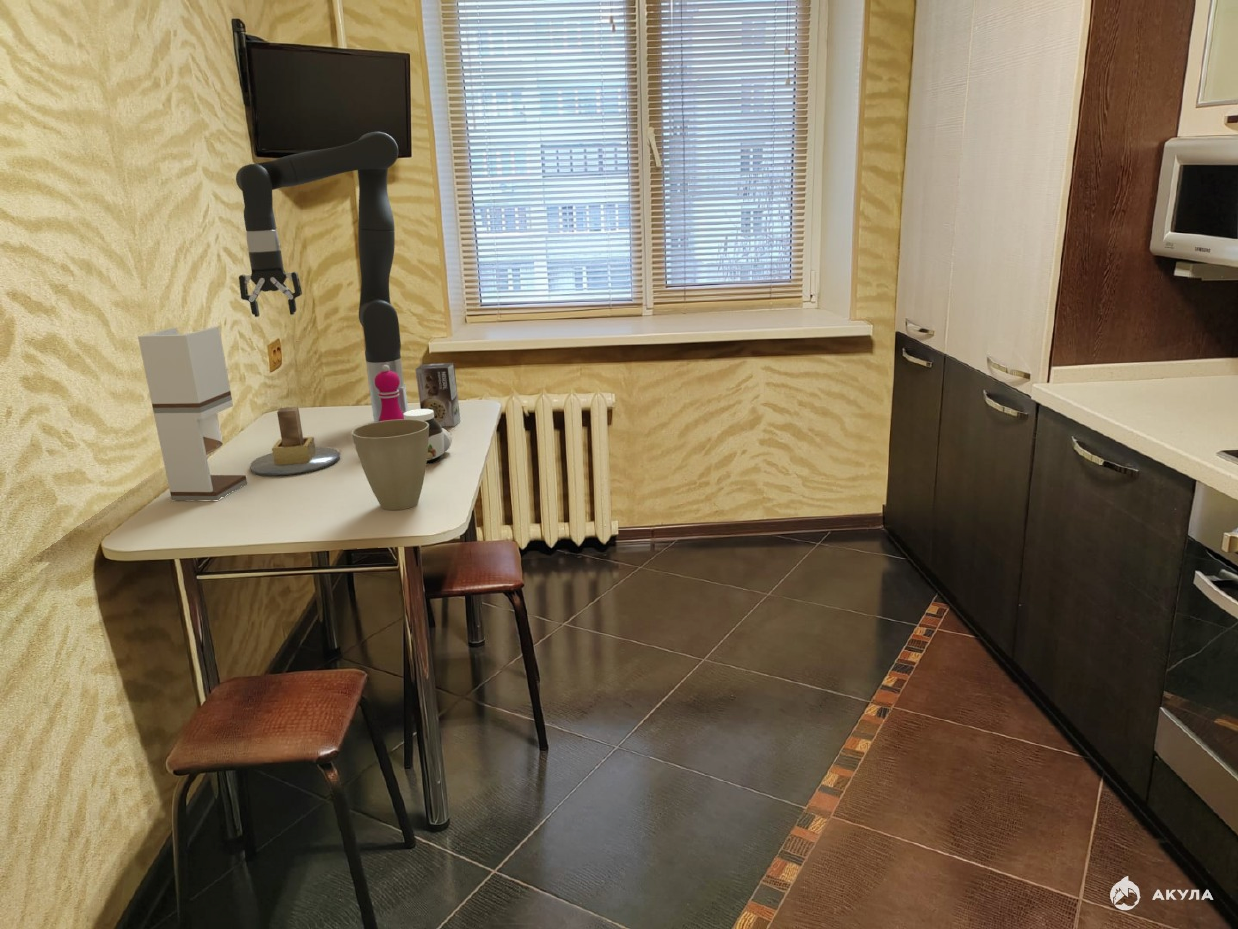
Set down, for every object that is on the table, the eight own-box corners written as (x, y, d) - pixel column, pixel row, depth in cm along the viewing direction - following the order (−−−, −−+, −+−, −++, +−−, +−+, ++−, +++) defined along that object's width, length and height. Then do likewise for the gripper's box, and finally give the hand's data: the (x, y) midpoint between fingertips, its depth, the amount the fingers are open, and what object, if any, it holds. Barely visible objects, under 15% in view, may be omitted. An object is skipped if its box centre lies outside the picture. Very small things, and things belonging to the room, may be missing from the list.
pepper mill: (374, 446, 226) (363, 367, 220) (391, 438, 232) (381, 361, 227) (398, 448, 223) (388, 368, 217) (415, 440, 230) (406, 362, 224)
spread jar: (402, 467, 207) (396, 418, 204) (402, 454, 218) (396, 407, 215) (455, 461, 210) (450, 413, 206) (452, 449, 220) (447, 402, 217)
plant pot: (448, 505, 181) (440, 428, 176) (375, 522, 173) (364, 442, 169) (422, 487, 193) (413, 414, 188) (352, 502, 186) (342, 427, 181)
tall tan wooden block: (305, 455, 216) (298, 406, 213) (302, 460, 213) (295, 410, 209) (288, 457, 216) (280, 408, 212) (285, 461, 212) (277, 412, 209)
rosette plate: (345, 448, 225) (342, 428, 224) (333, 472, 207) (330, 450, 205) (262, 455, 223) (258, 435, 221) (242, 480, 204) (238, 458, 202)
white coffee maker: (217, 501, 190) (185, 335, 180) (171, 500, 192) (137, 336, 182) (247, 483, 201) (218, 326, 191) (203, 483, 203) (173, 327, 193)
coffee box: (461, 420, 247) (455, 362, 242) (454, 426, 241) (448, 367, 236) (428, 421, 248) (422, 363, 243) (421, 427, 242) (414, 368, 237)
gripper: (230, 252, 219) (241, 319, 224) (291, 248, 221) (301, 315, 226) (238, 250, 226) (249, 315, 231) (297, 246, 228) (306, 311, 233)
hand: (275, 315), depth 228 cm, fingers open, 8 cm apart
